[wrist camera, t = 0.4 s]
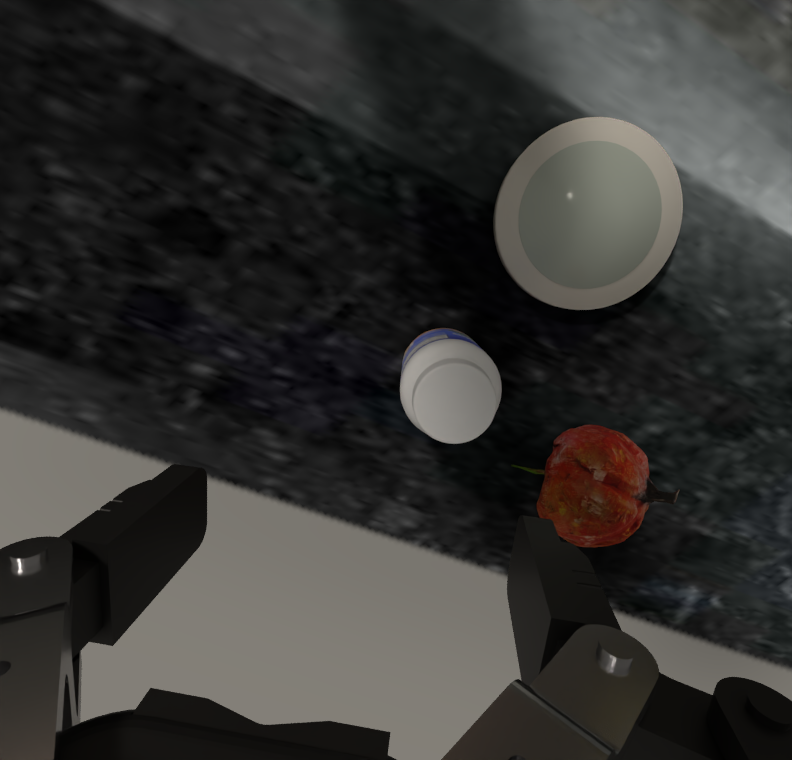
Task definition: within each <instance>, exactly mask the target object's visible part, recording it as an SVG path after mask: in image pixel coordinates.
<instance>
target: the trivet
mask: <svg viewBox="0 0 792 760" xmlns="http://www.w3.org/2000/svg"><path fill="white" fill-rule="evenodd" d="M682 211H683V200H682V190H681V185H680V180H679V177H678V174H677V171H676V169H675V167H674V165H673V163H672V160H671V159H670V157H669V156H668V154H667V153H666V151H665V150H664V148H663V147H662V146H661V145H660V144H659V143H658V142H657V141H656V140H655V139H654V138H653V137H652V136H651V135H649V134H648V133H647V132H645V131H644V130H642V129H640V128H639V127H637V126H635V125H633V124H630V123H628V122H625V121H622V120H618V119H614V118H606V117H587V118H582V119H576V120H572V121H569V122H566V123H563V124H561V125H559V126H557V127H555V128H553V129H551V130H549V131H548V132H546V133H545V134H543V135H542V136H540V137H539V138H537V139H536V140H535V141H534V142H533V143H532V144H531V145H529V146H528V147H527V148H526V150H525V151H524V152H523V153H522V154H521V155H520V156H519V157H518V158H517V159H516V161H515V162H514V163H513V165H512V166H511V168H510V169H509V170H508V172H507V174H506V176H505V178H504V180H503V182H502V184H501V187H500V189H499V192H498V195H497V199H496V203H495V208H494V216H493V232H494V239H495V244H496V248H497V252H498V255H499V257H500V260H501V262H502V264H503V266H504V268H505V269H506V271H507V273H508V274H509V275H510V277H511V278H512V279H513V281H514V282H515V283H516V284H517V285H518V286H519V287H520V288H521V289H522V290H524V291H525V292H526V293H528V294H529V295H530V296H532V297H534V298H535V299H537V300H539V301H541V302H544V303H546V304H549V305H552V306H556V307H560V308H565V309H573V310H592V309H598V308H603V307H607V306H610V305H613V304H616V303H618V302H620V301H623V300H625V299H627V298H628V297H630V296H632V295H633V294H635V293H637V292H638V291H639V290H641V289H642V288H643V287H644V286H646V285H647V284H648V283H649V282H650V281H651V280H652V279H653V278H654V277H655V276H656V275H657V273H658V272H659V271H660V270H661V268H662V267H663V266H664V264H665V262H666V261H667V259H668V258H669V256H670V254H671V252H672V250H673V248H674V246H675V243H676V240H677V237H678V234H679V231H680V226H681V221H682Z"/></svg>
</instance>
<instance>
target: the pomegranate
mask: <svg viewBox="0 0 792 760" xmlns="http://www.w3.org/2000/svg"><path fill="white" fill-rule="evenodd" d="M511 466H512V467H517V468H520V469H523V470H526V471H529V472H531V473H534V474H544V475H545V478H544V481H543V485H542V489H541V493H540V495H539V499H538V501H537V511H538V514H539V517H540V518H545V519H551V520H552V521H553V523H554V526H555V528H556V531H557V533H558V536H560V537H562V538H563V539H565V540H567V541H568V542H570V543H573V544H574V545H576V546H580V547H603V546H609V545H614V544H617V543H621V542H623V541H625V540H626V539H627V538H628V537H630V536H631V535H632V534H633V533H634V532H635V531H636V530H637V529H638V528H639V527H640V525H641V522H642V520H643V517H644V513H645V512H646V511H647V510H648V506H649V504H650V503H652V502H654V501H657V502H667V503H670V504H674V503H675V502H676V499H677V496H678V493H679V490H680V489H679V490H678V491H676V492H674V493H665V492H662V491H659V490H658V489H657V488H656V487H655V485H654V484H653V483H652V481H651V480H650V479H649V468H648V459H647V456H646V455H645V454H644V452H643V451H642V450H641V449H640V448H639V447H638V446H637V445H636V444H635V443H634V442H633V441H631V440H630V439H629V438H628V437H627V436H625V435H624V434H623V433H620V432H617V431H614V430H611V429H608V428H605V427H602V426H598V425H584V426H580V427H577V428H575V429H574V428H571V429H569V430H567V431H565V432H563V433H562V434H561V435H559V436H558V437H557V438H556V439H555V440H554V442H553V452H552V454H551V455H550V456H549V458H548V459H547V462H546V466H545V470H543V469H533V468H528V467H523V466H518V465H513V464H512V465H511Z"/></svg>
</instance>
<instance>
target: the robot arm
mask: <svg viewBox="0 0 792 760" xmlns="http://www.w3.org/2000/svg"><path fill="white" fill-rule="evenodd" d="M206 526H207V474H206V471H205V470H204V469H203V468H198V467H191V466H184V465H177V464H174V465H171V466H170V467H169V468H167V469H166V470H164V471H163V472H162V473H160V474H159V475H158V476H156V477H155V478H154V479H152V480H148V481H145V482H142V483H140V484H137V485H135V486H132V487H130V488H128V489H126V490H125V491H124V492H122V493H121V494H119V495H118V496H117V497H115V498H114V499H113V501H109V502H108V503H107V504H106V505H104V506H102V507H101V509H100V510H97V511H95V512H94V513H93V514H91V515H90V516H88V517H87V518H85V519H84V520H83V521H81V522H80V523H78V524H77V525H76V526H75V527H73V528H71V529H70V530H69V531H67V532H66V533H64V534H63V535H62V536H60V537H37V538H31V539H26V540H22V541H19V542H16V543H13V544H10V545H8V546H6V547H4V548H2V549H0V760H396V759H394V758H392V757H390V756H388V747H389V739H390V732H386V731H380V730H375V729H370V728H364V727H359V726H354V725H348V724H342V723H337V722H332V721H323V722H307V723H293V724H292V723H291V724H276V725H262V724H258V723H256V722H254V721H252V720H250V719H248V718H246V717H244V716H242V715H240V714H238V713H236V712H234V711H232V710H230V709H228V708H226V707H224V706H222V705H220V704H218V703H216V702H214V701H212V700H210V699H207V698H202V697H197V696H191V695H185V694H180V693H175V692H170V691H164V690H159V689H153V688H150V690H149V691H148V692H147V694H146V695H145V697H144V698H143V700H142V701H141V702H140V704H139V705H138V707H137V708H136V709H135V710H126V711H120V712H115V713H110V714H106V715H102V716H98V717H95V718H92V719H90V720H87V721H84V722H81V723H80V711H81V710H80V709H81V670H82V668H81V667H82V661H81V650H82V648H83V647H84V646H85V645H86V644H87V643H88V642H95V643H100V644H106V645H111V646H113V645H114V644H115V643H116V642H117V641H118V639H119V638H120V637H121V636H122V635H123V634H124V633H125V631H126V630H127V629H128V628H129V627H130V626H131V624H132V623H133V622H134V621H135V620H136V619H137V618H138V616H139V615H140V614H141V613H142V612H143V611H144V610H145V608H146V607H147V606H148V605H149V604H150V603H151V601H152V600H153V599H154V598H155V597H156V596H157V595H158V593H159V592H160V591H161V590H162V589H163V588H164V587H165V586H166V584H167V583H168V582H169V581H170V580H171V579H172V578H173V576H174V575H175V574H176V573H177V572H178V570H179V569H180V568H181V567H182V566H183V565H184V564H185V563H186V561H187V560H188V559H189V558H190V557H191V556H192V555H193V553H194V552H195V551H196V550H197V549H198V548H199V546H200V544H201V543H202V541H203V538H204V535H205V532H206ZM507 582H508V583H507V595H508V602H509V608H510V614H511V620H512V626H513V632H514V638H515V644H516V649H517V656H518V661H519V667H520V673H521V679H522V681H521V680H519V679H517V680H515V681H513V682H512V683H511V684H510V685H509V686H508V687H507V688H506V689H505V690H504V691H503V692H502V693H501V694H500V695H499V697H498V698H497V699H496V700H495V701H494V702H493V703H492V704H491V705H490V707H489V708H488V709H487V710H486V711H485V712H484V713H483V714H482V716H481V717H480V718H479V719H478V720H477V721H476V722H475V723H474V724H473V725H472V726H471V728H470V729H469V730H468V731H467V732H466V733H465V734H464V735H463V736H462V737H461V739H460V740H459V741H458V742H457V743H456V744H455V745H454V746H453V747H452V748H451V750H450V751H449V752H448V753H447V754H446V755H445V756H444V757H443V758H442V759H441V760H792V701H791V700H789V699H788V698H786V697H785V696H783V695H782V694H780V693H778V692H777V691H775V690H773V689H771V688H769V687H767V686H765V685H763V684H761V683H758V682H755V681H753V680H749V679H745V678H739V677H728V678H724V679H722V680H720V681H719V682H718V683H717V685H716V688H715V691H714V693H713V695H710V694H708V693H705V692H703V691H700V690H698V689H695V688H693V687H690V686H688V685H685V684H683V683H680V682H678V681H676V680H673V679H671V678H669V677H667V676H665V675H663V674H661V673H660V672H659V669H658V665H657V663H656V661H655V659H654V657H653V656H652V654H651V653H650V652H649V651H648V649H647V648H646V647H644V646H643V645H642V644H641V643H640V642H639V641H637V640H636V639H635V638H633V637H631V636H630V635H628V634H626V633H625V632H623V631H622V630H621V628H620V626H619V624H618V622H617V619H616V617H615V615H614V613H613V611H612V608H611V606H610V604H609V602H608V600H607V598H606V595H605V593H604V591H603V589H601V585H600V582H599V580H598V578H597V576H595V572H594V569H593V567H592V565H591V563H590V561H589V559H588V557H587V556H586V555H585V554H584V553H583V552H581V551H580V550H579V549H578V548H577V547H576V546H575V545H574V544H573V543H566V542H561V541H560V538H559V536H558V533H557V531H556V528H555V526H554V523H553V521H552V520H551V519H545V518H538V517H531V516H524V515H520V517H519V519H518V522H517V527H516V533H515V538H514V544H513V549H512V554H511V560H510V565H509V571H508V581H507Z"/></svg>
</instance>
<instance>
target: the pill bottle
mask: <svg viewBox="0 0 792 760" xmlns="http://www.w3.org/2000/svg"><path fill="white" fill-rule="evenodd" d="M501 393H502V386H501V379H500V375H499V372H498V369H497V367H496V365H495V364H494V362H493V361H492V359H491V358H490V357H489V356H488V355H487V354H486V353H485V352H484V351H483V350H482V349H481V348H480V347H479V346H478V345H477V344H476V343H475V342H474V341H473V340H472V339H471V338H470V337H469V336H467V335H466V334H464V333H462V332H460V331H457V330H454V329H450V328H438V329H433V330H430V331H427V332H425V333H423V334H421V335H420V336H418V337H417V338H416V339H415V340H414V341H413V342H412V343H411V344H410V345H409V347H408V348H407V349H406V351H405V354H404V358H403V362H402V373H401V381H400V397H401V402H402V405H403V408H404V410H405V412H406V414H407V416H408V418H409V419H410V420H411V422H412V423H413V424H414V425H415V426H416V427H417V428H419V429H420V430H421V431H423V432H424V433H426V434H428V435H429V436H430V437H432V438H433V439H435V440H438V441H440V442H443V443H448V444H459V443H465V442H468V441H471V440H473V439H475V438H477V437H478V436H480V435H481V434H482V433H483V432H484V431H485V430H486V429H487V428H488V427H489V425H490V424H491V422H492V420H493V418H494V415H495V413H496V411H497V409H498V407H499V403H500V400H501Z"/></svg>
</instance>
